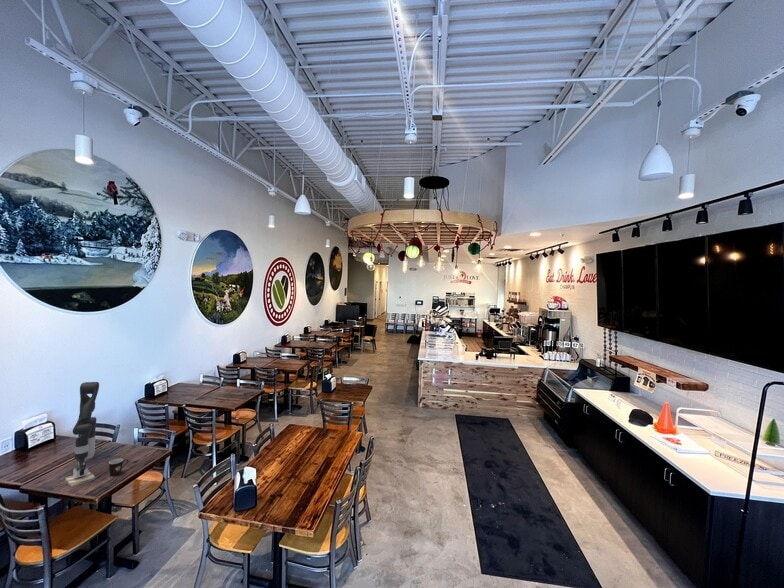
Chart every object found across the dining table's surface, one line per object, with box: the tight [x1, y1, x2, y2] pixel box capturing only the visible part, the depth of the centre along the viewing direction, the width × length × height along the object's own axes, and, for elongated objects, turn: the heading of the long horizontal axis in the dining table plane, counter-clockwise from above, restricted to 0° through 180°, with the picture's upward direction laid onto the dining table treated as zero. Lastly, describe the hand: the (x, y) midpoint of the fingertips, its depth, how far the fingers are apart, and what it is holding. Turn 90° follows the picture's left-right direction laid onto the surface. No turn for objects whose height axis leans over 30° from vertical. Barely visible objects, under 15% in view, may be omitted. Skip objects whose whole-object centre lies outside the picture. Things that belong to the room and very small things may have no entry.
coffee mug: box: [108, 458, 129, 478], centre depth 252 cm, size 12×9×10 cm
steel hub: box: [72, 466, 89, 478], centre depth 243 cm, size 6×6×5 cm
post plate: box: [64, 470, 96, 488], centre depth 243 cm, size 16×13×6 cm
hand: (80, 473), depth 243 cm, fingers closed on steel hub, 6 cm apart
